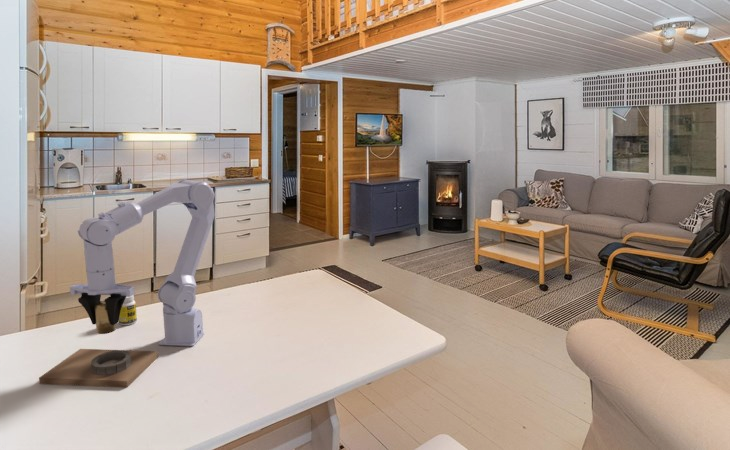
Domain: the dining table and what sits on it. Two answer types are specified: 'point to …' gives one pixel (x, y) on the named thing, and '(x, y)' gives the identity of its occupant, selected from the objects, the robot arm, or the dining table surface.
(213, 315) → the dining table surface
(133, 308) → the supplement bottle
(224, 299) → the dining table surface
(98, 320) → the cylinder
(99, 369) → the jig board
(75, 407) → the dining table surface
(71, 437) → the dining table surface
